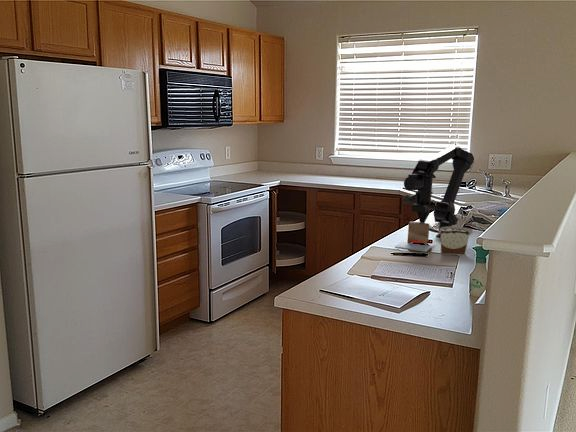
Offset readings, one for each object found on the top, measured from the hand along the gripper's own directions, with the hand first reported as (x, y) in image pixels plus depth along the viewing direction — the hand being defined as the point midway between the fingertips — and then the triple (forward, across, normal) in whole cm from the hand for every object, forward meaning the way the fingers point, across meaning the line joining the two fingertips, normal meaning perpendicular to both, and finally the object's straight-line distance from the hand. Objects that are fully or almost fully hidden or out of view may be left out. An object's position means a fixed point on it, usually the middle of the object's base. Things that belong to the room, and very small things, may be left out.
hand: (421, 225), depth 229 cm
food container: (+7, +11, +15) cm, 20 cm away
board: (+7, +12, 0) cm, 14 cm away
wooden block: (+7, +5, 0) cm, 9 cm away
